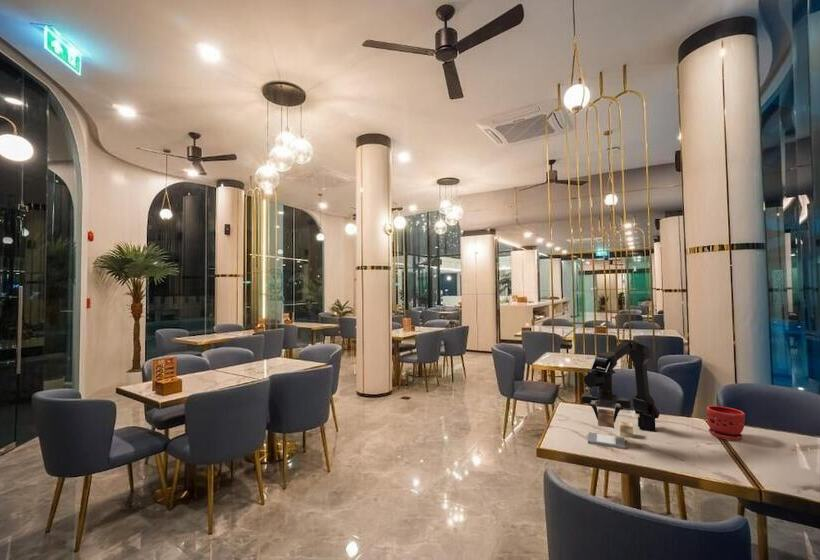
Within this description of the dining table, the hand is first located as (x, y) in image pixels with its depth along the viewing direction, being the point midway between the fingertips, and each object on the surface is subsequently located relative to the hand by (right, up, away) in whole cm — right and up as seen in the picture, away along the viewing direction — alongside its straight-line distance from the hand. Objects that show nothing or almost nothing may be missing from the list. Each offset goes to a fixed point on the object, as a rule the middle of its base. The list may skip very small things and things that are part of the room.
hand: (605, 420), depth 166 cm
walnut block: (0, -1, 0) cm, 1 cm away
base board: (0, -9, 0) cm, 9 cm away
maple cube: (+13, -9, +7) cm, 17 cm away
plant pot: (+55, -9, +4) cm, 56 cm away
